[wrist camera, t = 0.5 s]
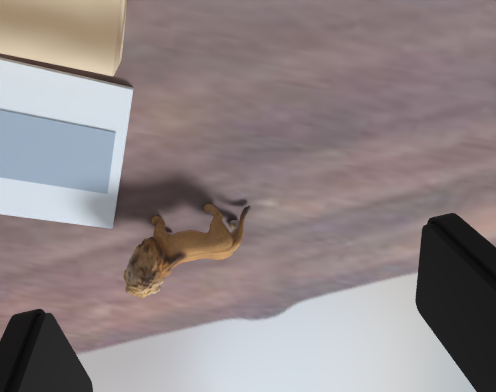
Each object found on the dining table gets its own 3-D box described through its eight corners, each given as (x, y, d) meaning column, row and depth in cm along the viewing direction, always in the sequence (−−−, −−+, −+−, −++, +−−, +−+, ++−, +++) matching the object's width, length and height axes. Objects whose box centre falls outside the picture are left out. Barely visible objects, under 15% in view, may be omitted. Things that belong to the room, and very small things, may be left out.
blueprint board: (-63, 42, 33) (-69, 44, 32) (133, 87, 38) (132, 90, 37) (-50, 202, 40) (-55, 208, 40) (113, 224, 45) (112, 229, 44)
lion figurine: (140, 258, 48) (134, 315, 40) (121, 225, 45) (110, 279, 38) (255, 220, 48) (271, 269, 40) (242, 184, 45) (257, 229, 37)
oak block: (-48, -58, 30) (-92, -61, 25) (128, -12, 34) (120, -7, 29) (-41, 25, 33) (-80, 37, 28) (121, 60, 36) (113, 76, 31)
